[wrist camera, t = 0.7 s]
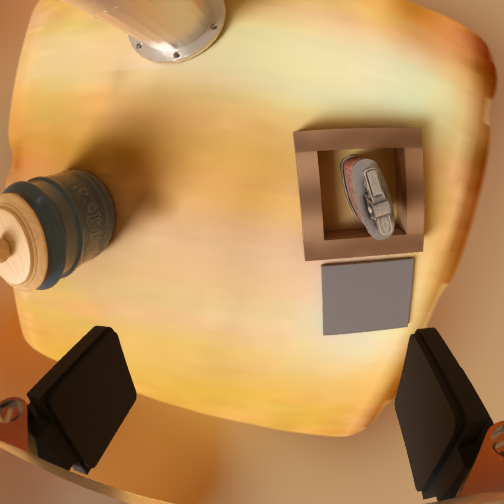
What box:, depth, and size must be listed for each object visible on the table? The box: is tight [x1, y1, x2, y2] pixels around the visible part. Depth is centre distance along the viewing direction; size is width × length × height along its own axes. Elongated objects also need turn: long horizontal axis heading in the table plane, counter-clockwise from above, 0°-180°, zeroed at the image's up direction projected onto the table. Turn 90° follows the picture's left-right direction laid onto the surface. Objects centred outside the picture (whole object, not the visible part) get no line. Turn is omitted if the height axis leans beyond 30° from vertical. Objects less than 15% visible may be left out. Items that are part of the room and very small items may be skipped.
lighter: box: [340, 156, 394, 240], centre depth 30 cm, size 8×3×10 cm, turn 21°
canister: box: [0, 170, 116, 292], centre depth 32 cm, size 13×13×18 cm
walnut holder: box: [293, 127, 424, 261], centre depth 34 cm, size 14×14×4 cm
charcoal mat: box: [321, 258, 414, 336], centre depth 39 cm, size 10×12×1 cm
